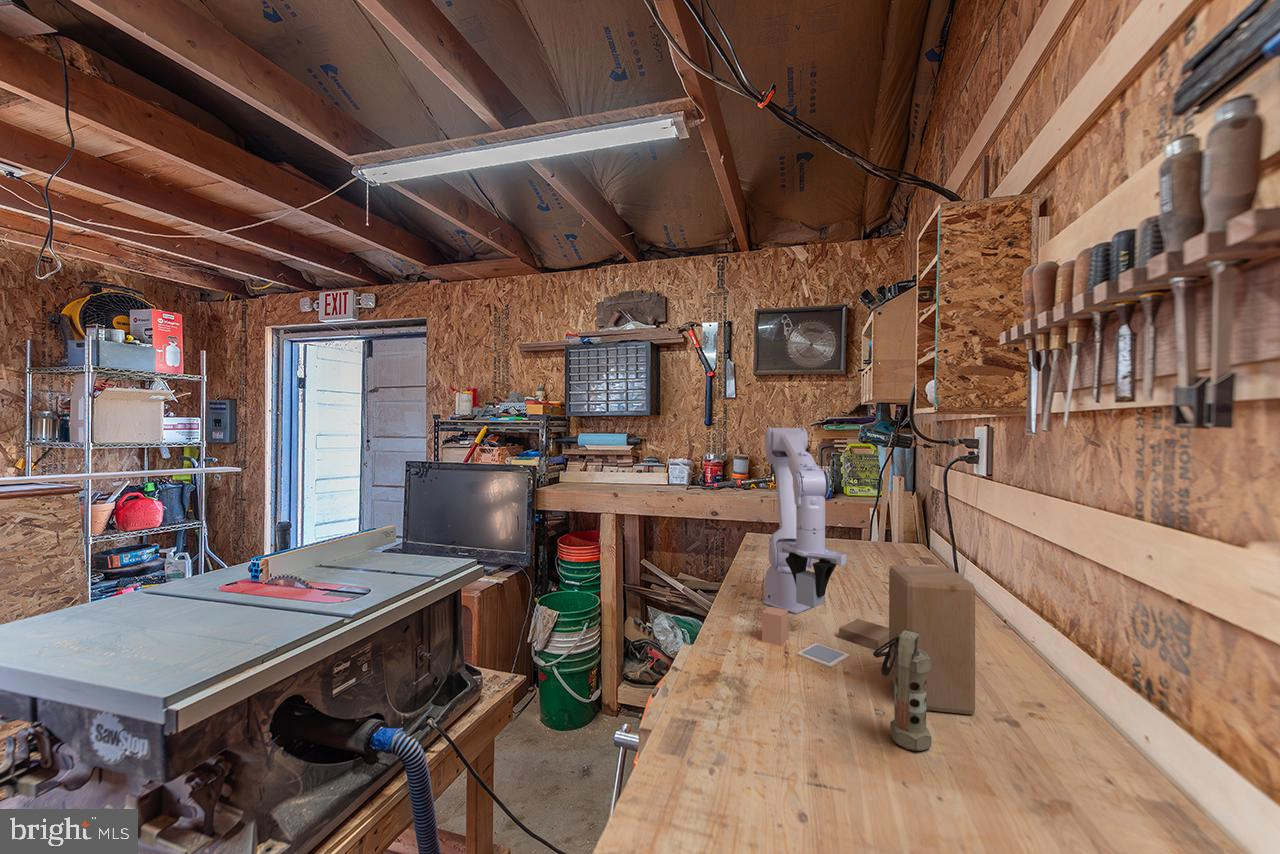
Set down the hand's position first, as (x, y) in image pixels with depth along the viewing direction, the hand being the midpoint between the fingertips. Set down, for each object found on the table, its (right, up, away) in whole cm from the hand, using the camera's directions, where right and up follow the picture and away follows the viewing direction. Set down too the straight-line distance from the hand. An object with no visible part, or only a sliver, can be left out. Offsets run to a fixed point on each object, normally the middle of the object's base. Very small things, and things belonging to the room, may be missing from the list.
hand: (810, 593), depth 106 cm
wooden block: (+11, -9, -24) cm, 28 cm away
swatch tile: (-1, -9, -9) cm, 13 cm away
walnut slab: (+11, -9, -1) cm, 15 cm away
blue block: (0, -2, 0) cm, 2 cm away
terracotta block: (-8, -9, -2) cm, 12 cm away
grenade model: (0, -9, -36) cm, 37 cm away
